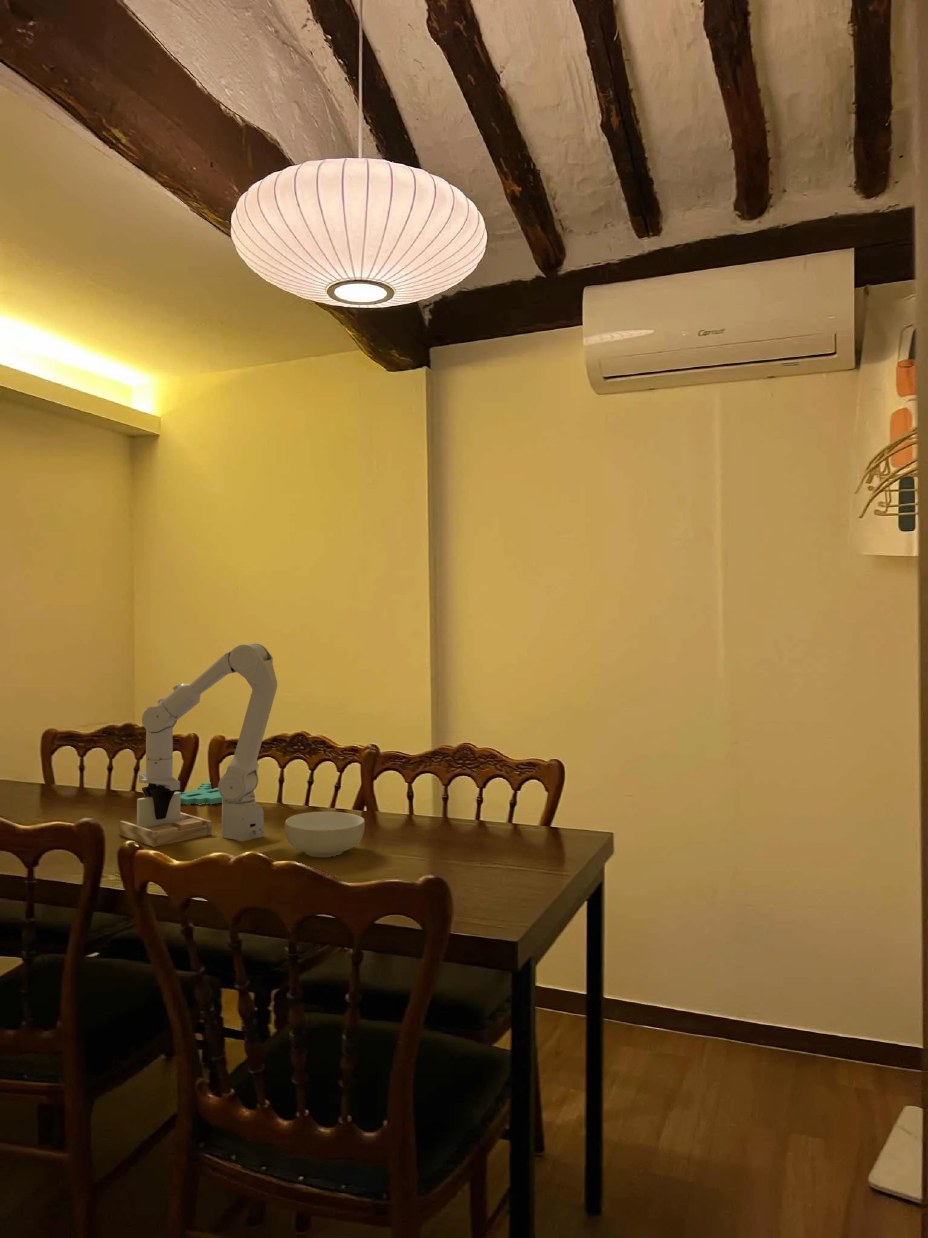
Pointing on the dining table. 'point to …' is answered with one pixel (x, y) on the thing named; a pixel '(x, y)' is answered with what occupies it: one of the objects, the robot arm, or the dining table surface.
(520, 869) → the dining table surface
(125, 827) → the rack
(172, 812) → the sheet
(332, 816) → the cereal bowl
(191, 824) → the oak offcut
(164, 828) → the ash offcut
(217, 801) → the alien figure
